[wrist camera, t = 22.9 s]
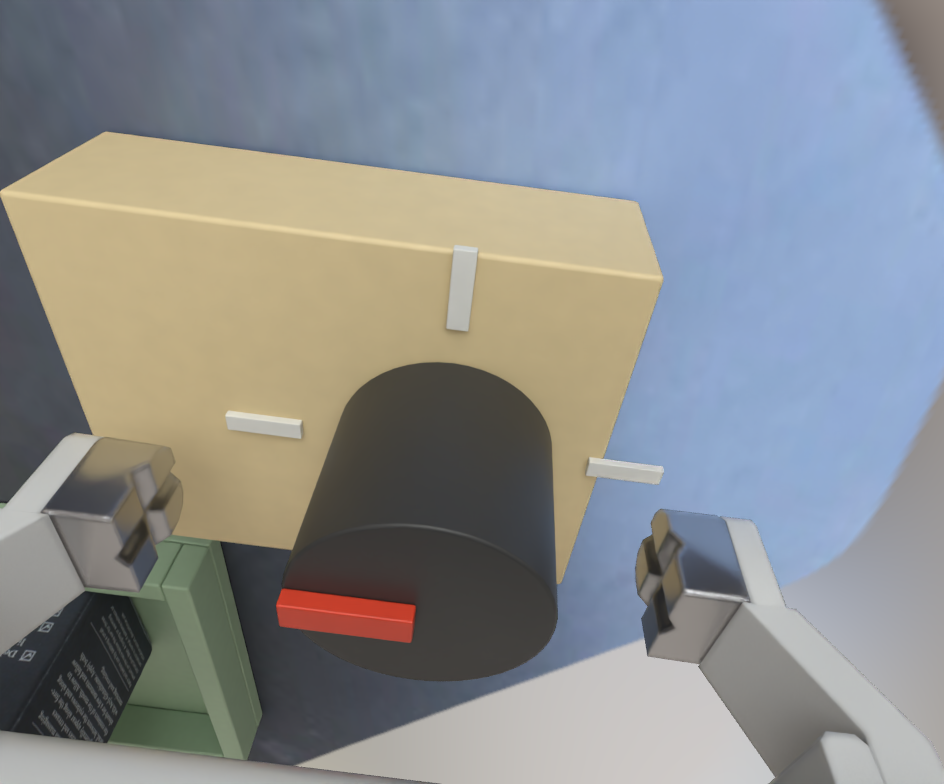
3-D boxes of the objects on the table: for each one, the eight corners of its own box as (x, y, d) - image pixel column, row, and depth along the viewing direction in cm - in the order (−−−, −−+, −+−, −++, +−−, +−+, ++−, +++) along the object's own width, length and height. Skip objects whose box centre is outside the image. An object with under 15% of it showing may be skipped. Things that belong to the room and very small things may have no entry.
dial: (571, 377, 10) (587, 568, 7) (532, 527, 13) (532, 715, 10) (336, 346, 10) (257, 526, 7) (342, 503, 13) (286, 683, 10)
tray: (217, 529, 19) (188, 590, 17) (263, 713, 27) (245, 766, 25) (-263, 468, 19) (-338, 523, 17) (-75, 670, 27) (-115, 721, 25)
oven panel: (699, 202, 11) (744, 286, 9) (597, 496, 17) (608, 600, 14) (102, 124, 11) (-16, 187, 9) (185, 443, 17) (126, 539, 14)
